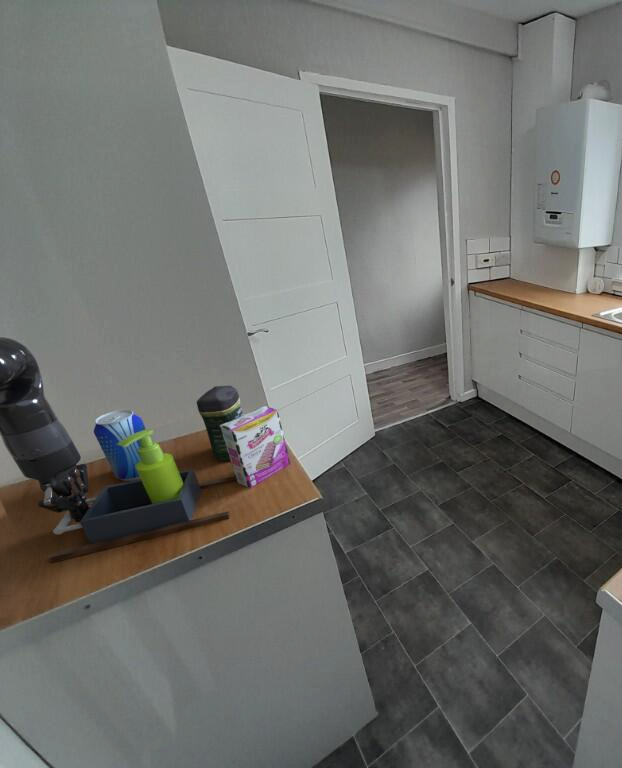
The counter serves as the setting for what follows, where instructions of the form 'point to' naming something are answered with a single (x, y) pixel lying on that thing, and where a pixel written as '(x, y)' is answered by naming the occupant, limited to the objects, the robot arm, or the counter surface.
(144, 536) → the rails
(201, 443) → the counter surface
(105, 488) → the tray
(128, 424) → the beer can
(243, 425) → the candy bar box
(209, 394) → the coffee jar
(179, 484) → the soap dispenser
